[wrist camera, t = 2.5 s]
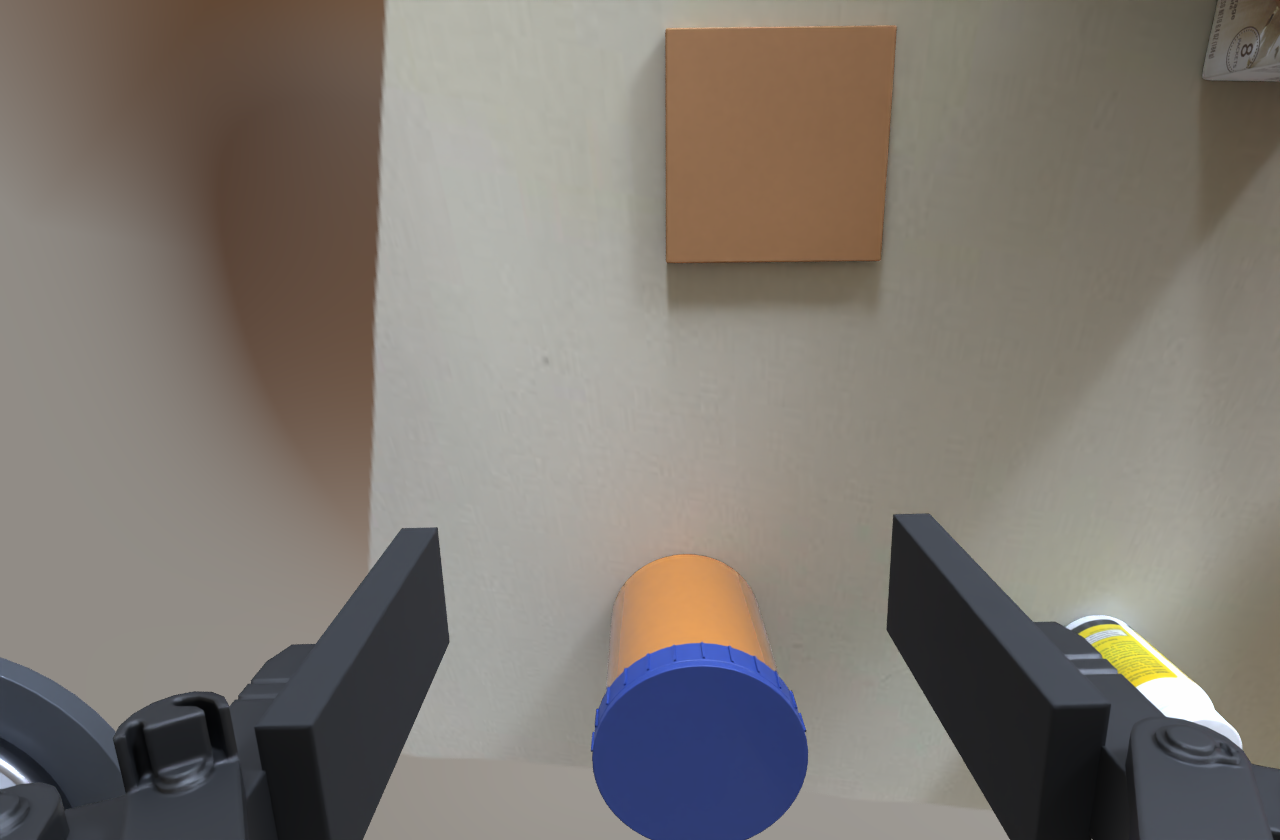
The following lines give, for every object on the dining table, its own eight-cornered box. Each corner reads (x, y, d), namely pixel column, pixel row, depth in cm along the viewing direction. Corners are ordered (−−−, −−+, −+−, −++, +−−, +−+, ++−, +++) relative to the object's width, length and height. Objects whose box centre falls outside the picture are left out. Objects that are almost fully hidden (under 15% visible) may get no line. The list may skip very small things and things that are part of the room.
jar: (612, 687, 43) (603, 833, 33) (609, 553, 41) (599, 666, 31) (757, 686, 43) (793, 832, 33) (762, 552, 41) (801, 665, 31)
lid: (606, 828, 34) (605, 859, 33) (581, 651, 32) (577, 675, 30) (806, 810, 34) (814, 841, 32) (795, 631, 32) (803, 654, 30)
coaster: (665, 262, 37) (666, 263, 36) (665, 31, 34) (665, 28, 34) (877, 260, 37) (881, 260, 36) (893, 28, 34) (897, 25, 34)
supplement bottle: (1030, 672, 43) (1121, 781, 34) (1075, 600, 41) (1180, 695, 33) (1105, 701, 43) (1213, 816, 35) (1152, 631, 42) (1274, 733, 34)
